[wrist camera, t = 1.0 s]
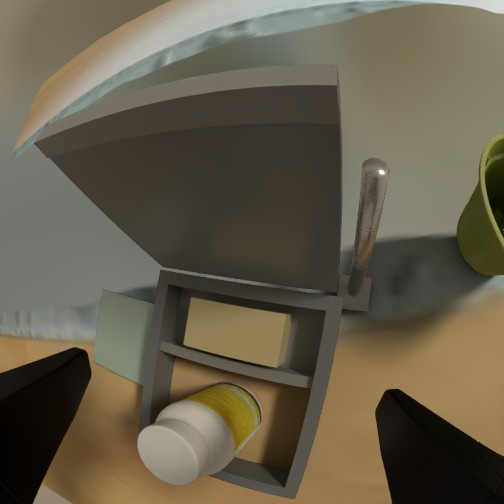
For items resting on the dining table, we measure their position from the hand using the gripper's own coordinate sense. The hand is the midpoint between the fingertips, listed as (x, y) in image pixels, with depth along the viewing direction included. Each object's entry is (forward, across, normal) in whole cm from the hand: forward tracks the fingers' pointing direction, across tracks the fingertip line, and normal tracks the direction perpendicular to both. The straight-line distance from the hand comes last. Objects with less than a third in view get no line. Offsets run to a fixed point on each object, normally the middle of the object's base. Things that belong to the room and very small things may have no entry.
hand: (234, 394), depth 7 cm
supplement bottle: (+11, 0, +12) cm, 17 cm away
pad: (+16, +11, +10) cm, 22 cm away
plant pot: (+12, -19, -5) cm, 23 cm away
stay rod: (+14, -8, 0) cm, 16 cm away
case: (+12, 0, +10) cm, 15 cm away
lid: (+7, +3, -3) cm, 8 cm away
